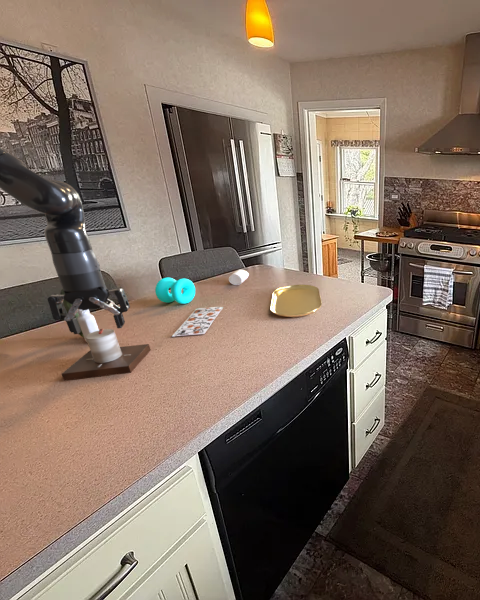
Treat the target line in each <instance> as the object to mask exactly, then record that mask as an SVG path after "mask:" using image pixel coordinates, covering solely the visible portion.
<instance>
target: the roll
mask: <svg viewBox="0 0 480 600" xmlns="http://www.w3.org/2000/svg"><path fill="white" fill-rule="evenodd" d="M249 276H250V273H249V272H248V271H247V270H244V269H237V270H236V271H234V272H233V273H231V274H230V275H229V276H228V282H229V283H230V284H231V285H233V286H239V285H241V284H242V283H244V282H245V281H246V280H247V279H248V278H249Z"/></svg>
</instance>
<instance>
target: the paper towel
mask: <svg viewBox="0 0 480 600" xmlns="http://www.w3.org/2000/svg"><path fill="white" fill-rule="evenodd" d="M223 308H224V307H223V306H210V307H208V306H207V307H197V308H195V309H194V311H192V313H190V315H189V316H188V317H187V318H186V320H185V321H184V322H183V323H182V324H181V325H180V326H179V327H178V329H177V330H175V332H174V333H173V335H172V336H171V337H175V338H176V337H185V336H197V335H205V334H206V333H207V331H208V330H209V328H210V327H211V326H212V324H213V323H214V321H215V320H216V318H217V317H218V316H219V314H220V312H221V311H222V310H223Z"/></svg>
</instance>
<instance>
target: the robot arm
mask: <svg viewBox="0 0 480 600" xmlns="http://www.w3.org/2000/svg"><path fill="white" fill-rule="evenodd" d="M0 190H2V191H3V192H4V193H6V194H7V195H9V196H10V197H12V198H14V199H15V200H16V201H18V202H19V203H21V204H22V205H24V206H26V207H27V208H30V209H31V210H33V211H36V212H38V213H41V214H44V215H45V219H46V226H45V228H44V232H43V233H44V237H45V241H46V243H47V246H48V249H49V251H50V254H51V259H52V263H53V266H54V269H55V272H56V276H57V277H58V280H59V282H60V285H61V288H62V289H63V290H64V293H65V294H64V295H60V294H58V293H53V294H51V295H50V296H48V297H47V303H48V305H49V308H50V312H51V315H52V319H53V320H54V321H59V320H60V321H64V322H66V325H67V327H68V331H69V332H70V333H73V335H79V333H80V332H81V329H80V326H79V323H78V321H77V318H74V317H75V315H76V313H77V312H78V310H79V309H81V310H88V309H89V310H97V309H98V310H99V309H103V310H105V311H108V312H109V313H112V314H113V319H114V321H115V322H114V323H115V326H116V329H122V328H123V326H124V325H125V323H126V321H125V317H124V314H123V313H127V312H128V310H130V308H131V305H130V303H129V300H128V298H127V295H126V292H125V290H124V288H123V287H118V288H115V289H108V288H107V285H106V282H105V279H104V276H103V273H102V271H101V266H100V263H99V261H98V258H97V256H96V254H95V252H94V249H93V246H92V243H91V241H90V237H89V235H88V232H87V230H86V222H85V221H86V219H85V212H84V207H83V202H82V199H81V197H80V195H79V193H78V191H77V190H76V189H75V188H74V187H73V186H72V185H70V184H68V183H67V182H64V181H62V180H56V179H55V180H51V179H50V180H49V179H46V178H45V177H43V176H41V175H40V174H38V173H36V172H34V171H33V170H31V169H30V168H28V167H27V165H26V163H25V162H23V160H21V159H20V158H18V157H16V156H15V155H14V154H12V153H10V152H8V151H6V149H4V148H2V147H0ZM110 296H112V297H113V298H114V299H116V300H117V302H118V304H119V305H117V304H115V302H114V301H113V300H111V299H109V297H110ZM63 300H66V301H67V302H69V303H70V304H72V306H71V308H70V309H69V311H68V313H67V312H65V311H64V308H63Z"/></svg>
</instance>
